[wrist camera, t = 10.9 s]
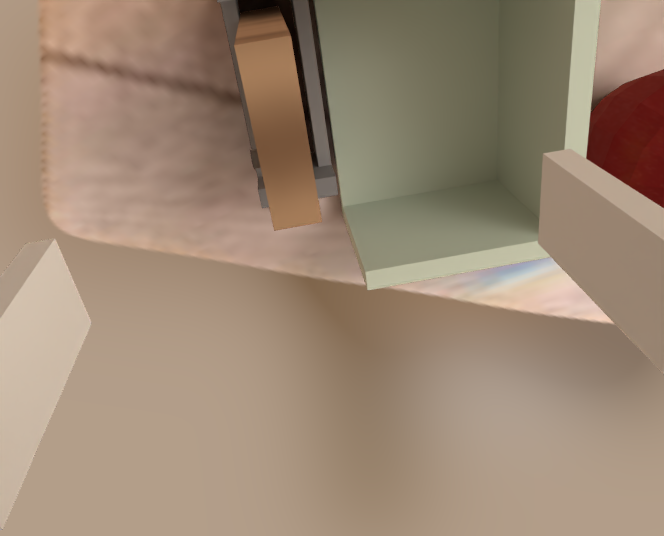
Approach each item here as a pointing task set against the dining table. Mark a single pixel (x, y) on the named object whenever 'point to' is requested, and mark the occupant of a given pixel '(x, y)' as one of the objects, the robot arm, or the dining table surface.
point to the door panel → (277, 117)
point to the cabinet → (440, 123)
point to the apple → (631, 135)
